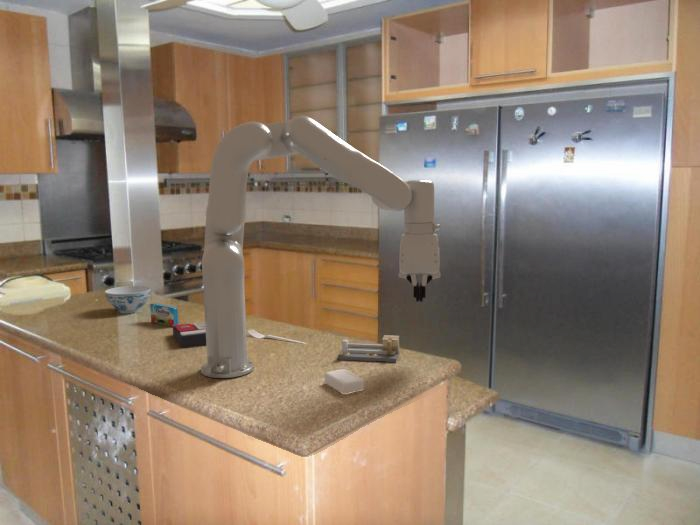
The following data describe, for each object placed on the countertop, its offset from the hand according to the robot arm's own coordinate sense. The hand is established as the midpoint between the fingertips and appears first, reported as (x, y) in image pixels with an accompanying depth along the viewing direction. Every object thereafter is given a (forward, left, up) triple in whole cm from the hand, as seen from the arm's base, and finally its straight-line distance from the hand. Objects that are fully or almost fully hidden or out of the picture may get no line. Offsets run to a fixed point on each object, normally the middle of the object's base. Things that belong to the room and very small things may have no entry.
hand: (419, 300), depth 150 cm
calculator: (+7, +65, -16) cm, 67 cm away
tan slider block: (-1, +7, -14) cm, 16 cm away
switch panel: (-2, +13, -15) cm, 20 cm away
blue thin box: (+22, +82, -15) cm, 87 cm away
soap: (-25, +15, -15) cm, 33 cm away
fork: (+10, +41, -15) cm, 45 cm away
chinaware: (+37, +103, -15) cm, 111 cm away
